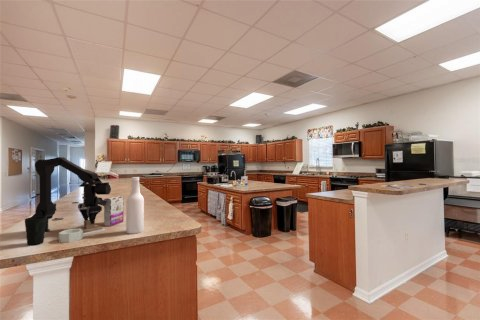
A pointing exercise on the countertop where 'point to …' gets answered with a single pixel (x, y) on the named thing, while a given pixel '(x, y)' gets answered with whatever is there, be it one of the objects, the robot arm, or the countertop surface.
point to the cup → (35, 230)
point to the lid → (90, 227)
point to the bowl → (70, 235)
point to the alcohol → (135, 209)
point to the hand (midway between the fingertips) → (89, 222)
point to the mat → (94, 231)
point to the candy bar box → (113, 211)
